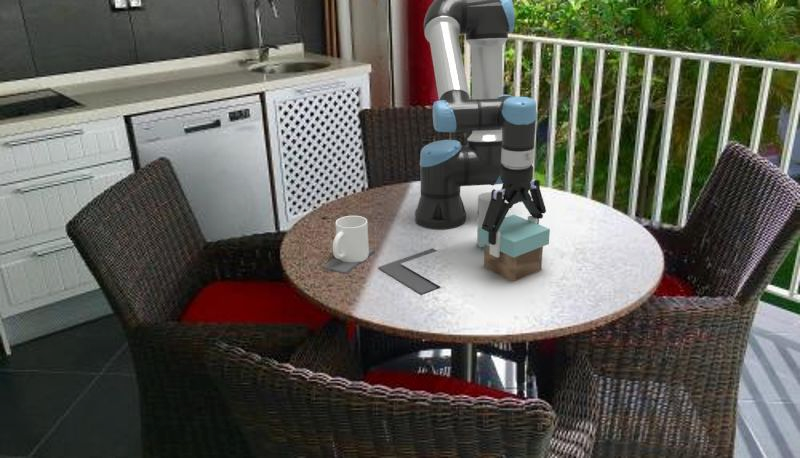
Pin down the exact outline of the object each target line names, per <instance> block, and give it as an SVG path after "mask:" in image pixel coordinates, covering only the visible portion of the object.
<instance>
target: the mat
mask: <svg viewBox="0 0 800 458" xmlns="http://www.w3.org/2000/svg"><path fill="white" fill-rule="evenodd" d="M435 252H438V250H437V249H436V248H429V249H427V250H424V251H421V252H417V253H415V254H413V255H409V256H405V257H404V258H400V259H397V260H394V261H392V262H389V263H386V264H383V265H381V266H378V267H377V269H378V270H380V271H382V272H383V273H385V275H386V274H387V275H388V276H390V277H391V278H393V279H394V280H396V281H398V282H399V283H401V284H403V285H404V286H406V287H408V288H409V289H411V290H412V291H414V292H416V293H417V294H419V295H421V296H423V295H424V294H427V293H430V292H433V291H435V290H438V289H441V288H442V287H441V286H440V285H438V284H436V283H435V282H433V281H431V280H430V279H427V277H424V276H422V274H419V273H418V272H416V271H414V270H412V269H410V268H409V267H407V266H405V265H404V264H403V263H407V262H409V261H413V260H416V259H418V258H420V257H424V256H426V255H429V254H433V253H435Z"/></svg>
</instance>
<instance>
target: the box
mask: <svg viewBox="0 0 800 458" xmlns="http://www.w3.org/2000/svg"><path fill="white" fill-rule="evenodd" d="M543 249H544V246H543V247H540V248H537V249H535V250H532V251H530V252H527V253H524V254H522V255H519V256H517V257H514V258H513V257H511V256H509V255H507V254H505V253H503V252H500V257H498V258H497V257H495V256H493V255H491V254H490V246H488V245H486V244H485V248H484V250H483V251H484V256H483V258H484V261H483V262H484V263H483V268H484V269H486V270H489V271H490V272H492V273H494V274H497V275H498V276H500V277H502V278H505V279H506V280H508V281H510V282H512V283H514V282H515V281H518V280H520V279H523V278H525V277H527V276H530V275H533V274H536V273H537V272H539V271H542V268H543V267H542V266H543V265H542V264H543Z"/></svg>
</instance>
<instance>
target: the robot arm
mask: <svg viewBox="0 0 800 458" xmlns="http://www.w3.org/2000/svg"><path fill="white" fill-rule="evenodd" d="M515 18H516V17H515V8H514V3H513V0H434V1H433V2H432V3H431V4H430V5H429V7H428V9H427V10H426V13H425V17H424V21H423V32H424V37H425V40H427V41H426V42H428V43H429V46H430V52H431V59H432V65H433V72H434V77H435V83H436V85H435V86H436V91H437V96H438V100H437V101H433V105H432V123H433V128H434V129H433V130H435V131H436V132H437V133H451V134H452V133H459V132H461V133H462V132H471V134H470V135H469V136H468V137H467V139H466V145H462V144H461V142H460V141H458V139H457V140H455V139H442V140H436V141H433V142H430V143H428V144H426V145H424V146H423V147H422V148H421V150H420V158H419V159H420V160H419V166H420V167H419V168H420V196H419V200H418V203H417V208H416V209H415V212H414V221H415V223H416V224H418V225H419V226H421V227H423V228H428V229H431V230H432V229H434V230H446V229H447V230H448V229H453V228H458V227H460V226H462V225H463V224H465V222H466V221H467V211H466V209H465V205H464V202H463V199H462V196H461V187H472V186H488V185H489V186H495V185H502V186H501V189H498V190H497V189H495V188H493V189H492V190H491V192H492V193H491V201H490V204H489V207H488V210H487V213H486V216H485V219H484V222H483V225H482V229H483V230H485V231H487V232H489V235H488V242H489V244H490V254H491V255H493V256H495V257H497V258H498V257H500V232H499V231H498V230H499V228H500V226H501V224H502V222H503V220H504V218H505V217H507V214H508V212H509V210H510V209H512V208H513V206H514V205H516V204H519V203H523V205H524V207H525V208H526V210H527V211H528V212H529V215H528V216H527V220H529V221H531V222H534V223H536V224H539V223H540V220H541V219H543V217H544V215H545V213H546V212H547V209H546V205H545V202H544V198H543V196H542V192H541V187H540V185H541V182H540V180H539V179H536V178H533V177H534V166H533V164H534V155H535V143H536V142H535V140H536V124H537V123H536V122H537V116H538V113H537V112H538V111H537V102H536V100H535V99H533V98H531V97H528V96H513V95H510V94H503V46H504V44H505V43H506V42H507V41H508V40H509V34H510V33H512V32H513V31H514V28H515V23H516V21H515ZM460 35H465V42H466V43H467V44H468V45H469V46H470V47H471V49H470V50H471V97H470V92H469V87H468V81H467V76H466V72H465V66H464V62H463V61H464V60H463V55H462V51H461V46H460V40H459V36H460ZM494 225H495V227H494ZM539 225H540V224H539Z"/></svg>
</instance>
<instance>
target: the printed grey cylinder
mask: <svg viewBox="0 0 800 458" xmlns="http://www.w3.org/2000/svg"><path fill="white" fill-rule="evenodd" d="M491 193H492V191H488V192H482V193H479V195H477V234H476V235H477V236H476V237H477V238H476V239H477V240H476V247H477V248H478V249H480V250H482V251H484V248H485V244H484V243H481V242H479V226H482V225H483V222H484V219H485V216H486V213H487V210H488V207H489V204H490V201H491Z"/></svg>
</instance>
